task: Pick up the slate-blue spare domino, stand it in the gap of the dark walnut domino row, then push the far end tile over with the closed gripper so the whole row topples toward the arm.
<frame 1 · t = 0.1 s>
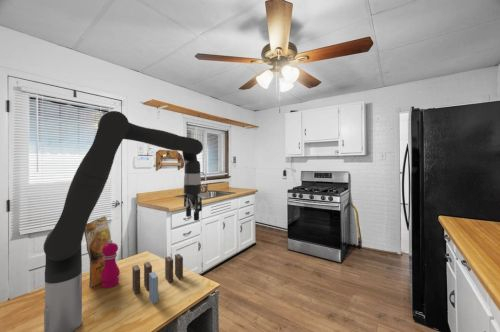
hand: (192, 218, 99), 29 cm above the table, fingers open, 8 cm apart
pepper mill: (110, 284, 97), on the table
domino 4: (169, 279, 100), on the table
spare domino: (153, 299, 86), on the table
domino 5: (178, 276, 103), on the table
pancake mix bag: (100, 278, 102), on the table
domino 2: (148, 287, 95), on the table
domino 1: (136, 290, 92), on the table
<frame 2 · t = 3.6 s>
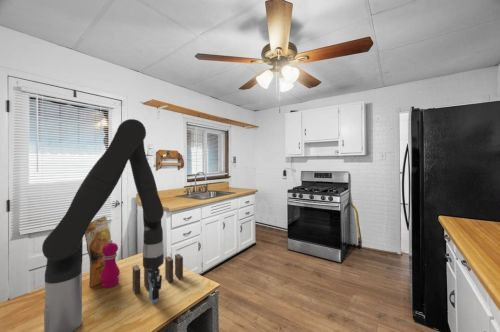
hand: (153, 295, 86), 2 cm above the table, fingers closed on spare domino, 5 cm apart
spare domino: (153, 299, 86), on the table, touching gripper
everything else where it was.
when the fingers open (3 cm above the table, at t = 10.2 s): spare domino stays where it is, on the table.
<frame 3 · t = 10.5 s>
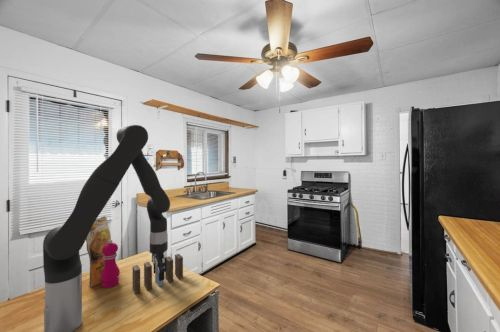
hand: (158, 276, 97), 3 cm above the table, fingers open, 8 cm apart
spare domino: (159, 283, 98), on the table
everything else where it was.
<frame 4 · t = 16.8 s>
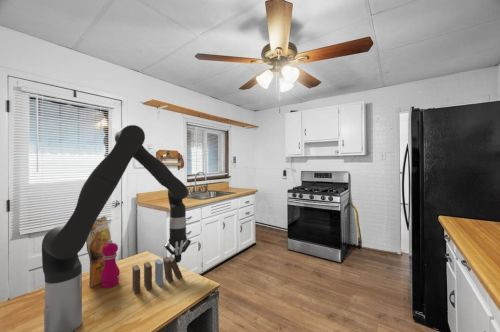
hand: (177, 261, 103), 7 cm above the table, fingers closed
domino 4: (169, 279, 100), on the table, tilted 6°, touching domino 5
domino 5: (178, 275, 103), on the table, tilted 21°, touching domino 4
everything else where it was.
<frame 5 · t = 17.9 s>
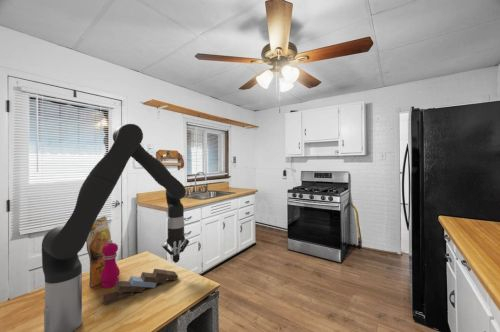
hand: (175, 261, 102), 8 cm above the table, fingers closed
domino 4: (164, 279, 99), point 1 cm above the table, tilted 65°, touching domino 5, spare domino
spare domino: (154, 283, 96), point 1 cm above the table, tilted 65°, touching domino 2, domino 4
domino 5: (175, 275, 102), point 1 cm above the table, tilted 66°, touching domino 4
domino 2: (142, 286, 93), point 1 cm above the table, tilted 68°, touching domino 1, spare domino
domino 1: (132, 291, 91), on the table, tilted 90°, touching domino 2
everything else where it was.
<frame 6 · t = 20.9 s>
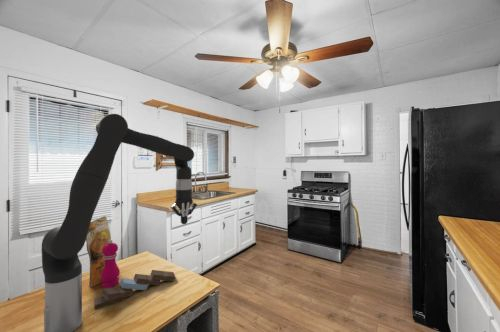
hand: (184, 223, 105), 25 cm above the table, fingers closed
domino 4: (157, 280, 98), point 1 cm above the table, tilted 66°
spare domino: (145, 285, 94), point 1 cm above the table, tilted 65°, touching domino 2
domino 5: (173, 276, 102), point 1 cm above the table, tilted 70°
domino 2: (129, 290, 89), point 2 cm above the table, tilted 71°, touching spare domino
domino 1: (124, 294, 88), on the table, tilted 90°
everything else where it was.
at the end: domino 1 tilted 90°; spare domino tilted 63° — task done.
